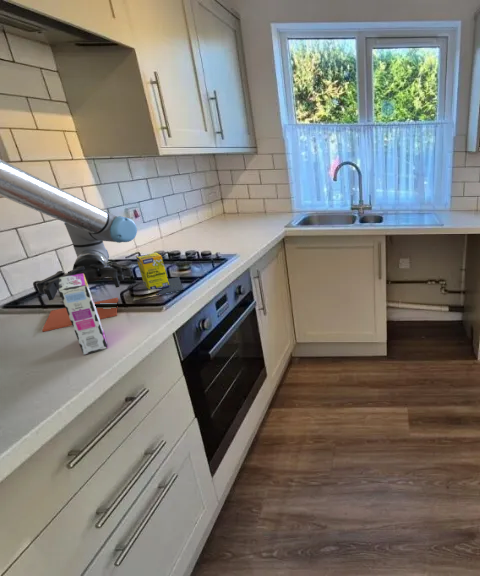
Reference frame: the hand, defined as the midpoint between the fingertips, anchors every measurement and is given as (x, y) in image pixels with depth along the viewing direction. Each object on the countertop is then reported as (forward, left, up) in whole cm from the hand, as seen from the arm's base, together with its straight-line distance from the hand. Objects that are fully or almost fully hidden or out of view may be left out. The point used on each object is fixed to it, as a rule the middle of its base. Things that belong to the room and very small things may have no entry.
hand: (83, 288), depth 92 cm
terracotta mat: (-4, +12, -11) cm, 17 cm away
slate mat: (+15, +21, -11) cm, 28 cm away
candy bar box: (0, -10, -11) cm, 15 cm away
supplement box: (+15, +21, -11) cm, 28 cm away
